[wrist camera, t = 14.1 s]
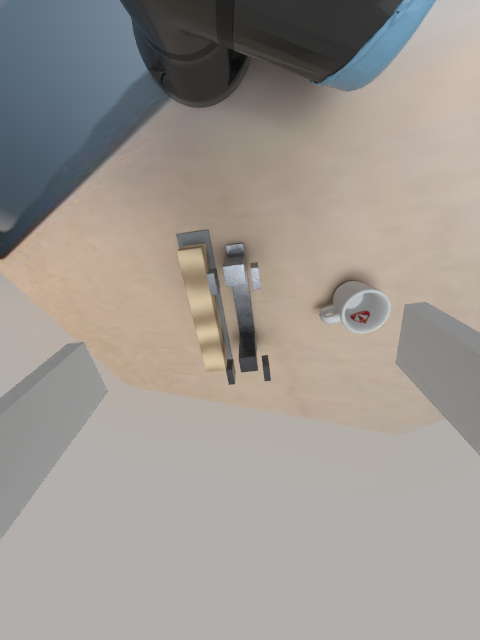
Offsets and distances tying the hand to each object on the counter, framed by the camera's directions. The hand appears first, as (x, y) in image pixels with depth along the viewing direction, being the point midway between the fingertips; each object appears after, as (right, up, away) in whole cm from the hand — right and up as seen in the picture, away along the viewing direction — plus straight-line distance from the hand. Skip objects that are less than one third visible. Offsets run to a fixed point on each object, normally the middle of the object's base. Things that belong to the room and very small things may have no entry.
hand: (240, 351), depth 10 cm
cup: (+20, +6, +38) cm, 43 cm away
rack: (+1, +5, +38) cm, 39 cm away
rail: (-6, +4, +39) cm, 39 cm away
